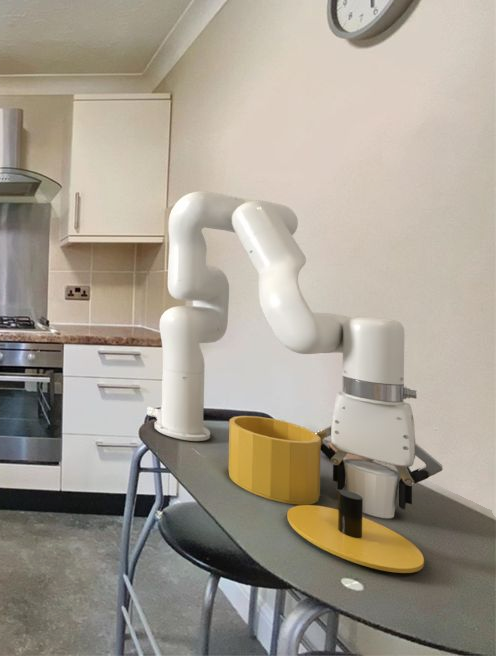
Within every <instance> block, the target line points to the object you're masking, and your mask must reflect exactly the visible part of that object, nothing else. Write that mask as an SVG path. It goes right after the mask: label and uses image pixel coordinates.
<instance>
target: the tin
mask: <svg viewBox="0 0 496 656" xmlns="http://www.w3.org/2000/svg"><path fill="white" fill-rule="evenodd" d="M228 428H229V429H228V430H229V432H228V468H227V469H228V476H229V478H230V479H231V481H232V482H233V483H235V484H236V485H237V486H239V487H240V488H242V489H244V490H245V491H248V492H249V493H252V494H254V495H256V496H259V497H262V498H264V499H267V500H271V501H274V502H279V503H283V504H288V505H289V504H290V505H296V506H300V505H314V504H316V503H318V502H319V500H320V496H321V456H322V455H321V452H322V451H321V438H320V437H319V436H318V435H317V434H316V433H315V432H316V431H315V432H314V431H313V430H311V429H308V428H307V427H304V426H301V425H298V424H295V423H293V422H288V421H285V420H280V419H276V418H271V417H270V418H269V417H263V416H255V415H238V416H237V415H236V416H232V417H231V418H230V419H229V426H228Z"/></svg>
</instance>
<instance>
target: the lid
mask: <svg viewBox="0 0 496 656" xmlns="http://www.w3.org/2000/svg"><path fill="white" fill-rule="evenodd" d="M337 505H338V508H333V507H327V506H322V505H314V504H309V505H296V506H293V507H291V508H289V509H288V511H287V513H286V514H287V515H286V516H287V517H286V519H287V521H288V523H289V525H290V526H291V528H292V529H293V530H294V531H295V532H296V533H297V534H298V535H299V536H301V537H302V538H303V539H305V540H306V541H308V542H309V543H311V544H313V545H314V546H316V547H318V548H319V549H321V550H323V551H325V552H327V553H330V554H332V555H334V556H336V557H339V558H341V559H343V560H346V561H348V562H351V563H354V564H357V565H360V566H364V567H367V568H370V569H374V570H379V571H383V572H389V573H397V574H412V573H417V572H419V571H421V570H422V569H423V568H424V566H425V558H424V555H423V553H422V552H421V551H420V549H419V548H418V547H417V546H416V545H415V544H413V543H412V542H411V541H410V540H409V539H407V538H405V536H402V535H401V534H399V533H397V532H395V531H394V530H392V529H390V528H388V527H386V526H384V525H382V524H380V523H377V522H375V521H373V520H370V519H368V518H366V517H363V515H364V514H363V498H362V497H361V496H360V495H358V494H356V493H353V492H350V491H347V490H345V489H343V490H340V489H339V491H338V504H337Z"/></svg>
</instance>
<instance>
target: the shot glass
mask: <svg viewBox="0 0 496 656" xmlns="http://www.w3.org/2000/svg"><path fill="white" fill-rule="evenodd" d="M344 467H345V487H346V491H350V492H353V493H356V494H358V495H360V496H361V497H362V498H363V513H364V514H366V515H369V516H373V517H377V518H381V519H392V518H394V517H395V512H396V506H397V505H396V504H397V497H398V492H399V480H400V478H401V476H400V475H399V473H398V471H397V470H395V469H393V468H391V467H389V466H386V465H384V464H380V463H378V462H375V461H372V462H370V461H366V460H360V459H345V460H344Z"/></svg>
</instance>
